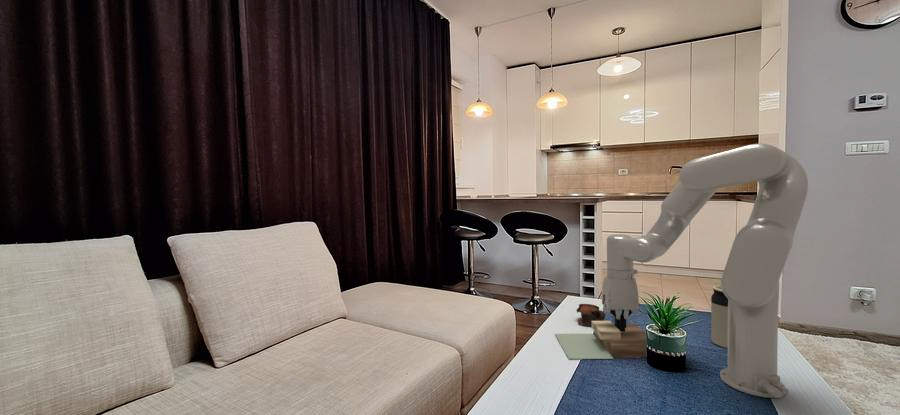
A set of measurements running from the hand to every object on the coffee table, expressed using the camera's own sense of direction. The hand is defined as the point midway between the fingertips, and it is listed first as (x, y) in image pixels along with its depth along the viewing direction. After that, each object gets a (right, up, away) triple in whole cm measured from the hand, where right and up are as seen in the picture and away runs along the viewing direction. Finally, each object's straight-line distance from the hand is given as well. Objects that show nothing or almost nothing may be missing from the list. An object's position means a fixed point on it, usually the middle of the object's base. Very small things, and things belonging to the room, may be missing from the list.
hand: (620, 329), depth 112 cm
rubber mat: (-12, -6, +1) cm, 13 cm away
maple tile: (-5, -1, 0) cm, 5 cm away
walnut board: (+1, -5, 0) cm, 5 cm away
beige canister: (+33, -4, -1) cm, 34 cm away
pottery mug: (-1, -5, +20) cm, 20 cm away
